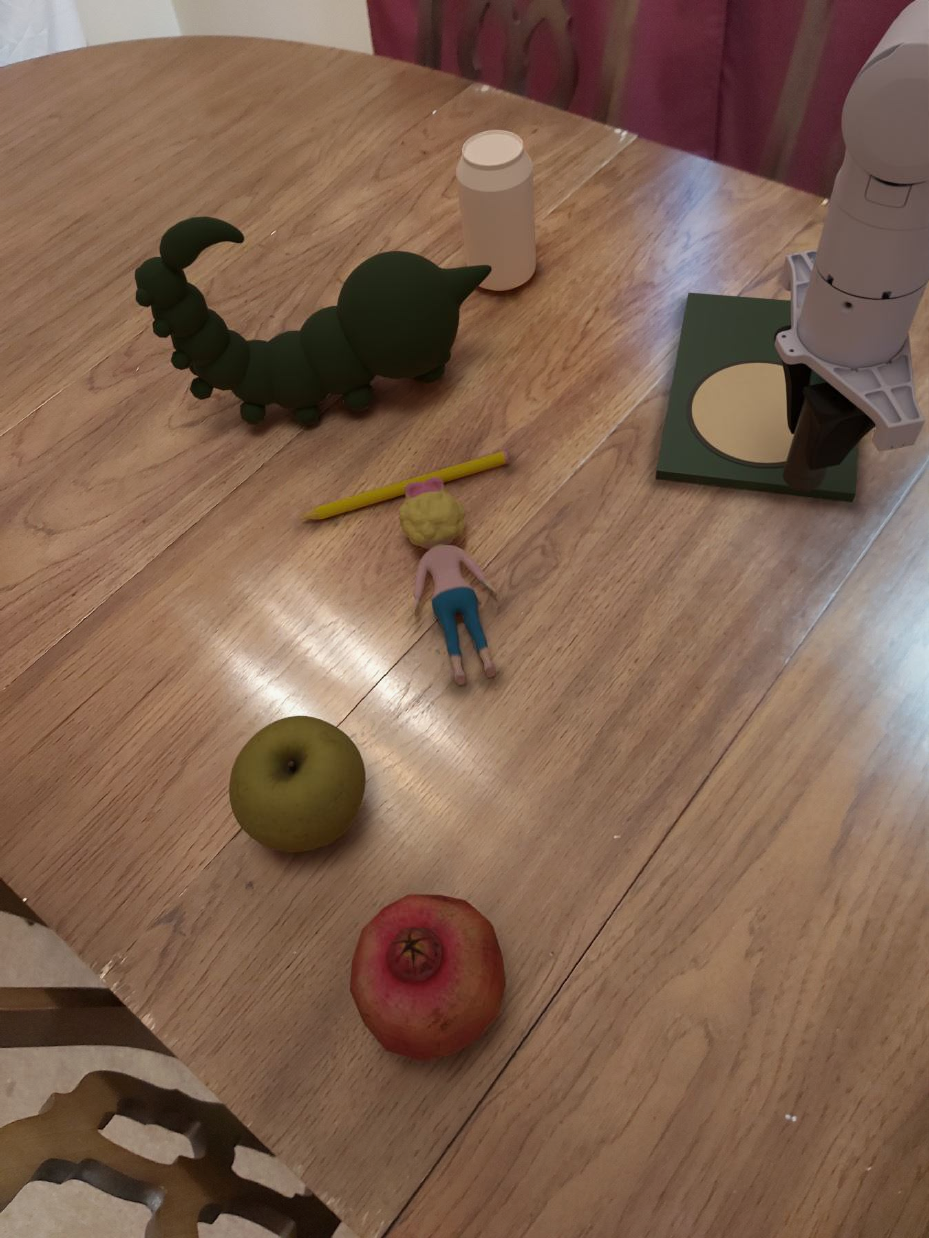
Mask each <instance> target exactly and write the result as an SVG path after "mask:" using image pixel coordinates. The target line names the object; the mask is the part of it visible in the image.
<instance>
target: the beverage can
mask: <svg viewBox="0 0 929 1238" xmlns="http://www.w3.org/2000/svg"><path fill="white" fill-rule="evenodd" d="M524 145H525V144H524V141H523V139H522V138H521V137H520V136H519V135H518V134H516V133H515V132H511V131H510V130H509V131H508V130H504V129H490V130H485V131H482V132H478V133H476V134H473V135H472V136H471V137H469V138H468V139H467V140H466V141H464V144H463V145H462V148H461V153H462V154H461V157H460V159H459V160H458V163H457V165H456V170H455V176H456V184H457V185H456V186H457V194H458V203H459V213H460V221H461V231H462V239H463V248H464V256H465V267H467V266H476V265H489V266H491V268H492V271H491V273H490V274H489V275H488V276H487V277H486V279H485V280H484V281H483V282H482V283H481V284H480V285H479V286H478V287H480V288H482V289H484V290H485V289H486V290H489V291H495V292H504V291H505V292H506V291H510V290H512V289H513V290H514V289H515V288H518V287H520V286H522V285H523V284H526V283H527V282H528V281H529V280H530V279H531V278H532V277H533V275H534V273H535V271H536V268H537V267H536V266H537V246H536V245H537V244H536V222H535V221H536V218H535V217H536V216H535V192H534V191H535V190H534V189H535V187H534V164H533V161H532V159H531V157H530V155H529V154H528V152H527V150H526V149H525V147H524Z"/></svg>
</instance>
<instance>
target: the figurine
mask: <svg viewBox="0 0 929 1238" xmlns="http://www.w3.org/2000/svg"><path fill="white" fill-rule="evenodd" d="M444 483H445V482H444ZM444 483H443V481H442V479H441V478H440V477H434V478H430V479H428V480H426V481H425V482H421V483H420V482H414V483H409V484H407V485H406V486H405V494H404V496H405V500H404V502H403V504H401V506H400V508H399V510H398V520H399V525H400V527H401V529H402V532H403V534H405V535H406V537H407V538H408V541H409V542H410V543H411V544H413V545H414V546H419V547H420V546H421V547H422V548H423V549H426V550H427V551H426V552H425V553H424V554H423V556H422V558H420V560H419V562H418V567H417V569H416V572H415V573H416V574H415V578H414V589H413V598H414V602H413V605H412V615H413V617H416V616H417V612H418V610H419V606H420V602H421V600H422V597H423V593H424V588H425V585H426V577H427V573H428V572H429V573H430V575H431V577H432V581H433V586H434V587H433V592H432V596H431V606H432V611H433V614H434V616H435V617H436V620H437V621H438V622H439V624H440V626H441V628H442V631H443V635H444V641H445V644H446V649H447V653H448V655H449V658H450V661H451V663H452V667H453V671H454V680H455V683H456V685H458V686H462V685H464V684H465V683H466V674H465V672H464V670H463V667H462V659H463V656H462V651H461V647H460V638H459V631H458V626H457V622H456V614H459V613H460V614H461V616H462V618H463V619H462V620H463V622H464V626H465V628H466V630H467V632H468V634H469V635H470V637H471V639H472V640H473V642H474V646H475V650H476V653H477V654H478V656H479V657H480V658H481V660H482V662H483V671H484V673H485V675H486V677H487V678H489V679H490V678H492V677H493V678H494V676H495V674H496V668H495V666H494V664H493V662H492V659H491V655H490V650H489V645H488V642H487V636H486V635H485V631H484V629H483V626H482V623H481V620H480V615H479V614H480V613H479V600H478V596H477V594H476V591H475V588H474V587H472V586H471V585H470V584H469V583H468V582H467V581H466V580H465V579H464V577H463V574H462V570H461V564H463V565H464V566H465V567H466V568H467V569H468V570H469V571H470V573H471V574H472V575H473V576H474V577H475V579H477V580H478V581H479V582H480V584H482V585H483V586H485V587H486V589H487V590H488V591H489V592H490V593H491V594H492V595H493V596H494V597H497V596H498V593H497V590H496V588H495V587H494V585H493V584H491V583H490V582H489V581H488V578H487V576H486V574H485V573H484V572H483V570H482V569H481V567H480V566H479V564H478V563H477V562H476V561H475V560H474V559H473V558H472V557H471V556H470V555H469V554H468V553H467V552H466V550H464V549H462V548H460V547H459V546H457V545H454V544H451V543H452V542H453V541H454V539H456V538H457V537H459V536H461V535H462V534H463V533H464V531H465V530H466V523H465V521H464V519H465V517H466V509H465V506H464V505H463V503H462V502H461V501H459V500H457V499H455V498H454V496H453V495H452V494H451V493H450V492H449V491H448V490H446V489H445V484H444Z"/></svg>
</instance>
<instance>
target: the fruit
mask: <svg viewBox="0 0 929 1238" xmlns="http://www.w3.org/2000/svg"><path fill="white" fill-rule="evenodd" d="M350 968H351V969H350V980H349V981H350V982H349V992H350V994H351V997H352V999H353V1001H354V1004H355V1006H356V1009H357V1011H358V1014H359V1016H360V1019H361V1021H362V1023H363V1025H364V1026H365V1027H366V1028H367V1030H368V1031H369V1032H370V1033H371V1035H372V1036H373V1037H374V1038H375V1039H376V1040H377V1042H378V1043H379V1045H381V1047H382V1048H383V1049H384V1050H385V1051H386V1052H388V1053H391V1054H396V1055H399V1056H403V1057H406V1058H409V1059H413V1060H417V1061H419V1062H423V1061H429V1060H433V1059H438V1058H442V1057H445V1056H451V1055H454V1054H456V1053H457V1052H458V1051H460V1050H462V1049H464V1048H465V1047H467V1046H469V1045H470V1044H472V1043H474V1042H475V1041H477V1040H479V1038H480V1037H481V1036H482V1035H483V1033H484V1032H485V1031H486V1030H487V1029H488V1028H489V1026H490V1025H492V1023H493V1022H494V1021H495V1019H496V1018H497V1017H498V1016H499V1014H500V1011H501V1006H502V1003H503V998H504V994H505V990H506V985H507V982H506V974H505V965H504V957H503V954H502V951H501V947H500V944H499V941H498V937H497V934H496V930H495V928H494V925H493V923H492V922H491V921H490V920H489V919H488V918H487V917H485V916H484V915H483V914H482V913H481V912H480V911H479V910H478V909H477V908H475V907H474V906H473V905H472V904H471V903H470V902H469V901H467V900H466V899H463V898H458V897H452V896H447V895H444V894H406V895H404V896H402V897H400V898H399V899H396V900H395V901H393V902H391V903H389V904H387V905H386V906H384V907H383V908H381V910H380V911H378V913H376V914H375V915H374V917H372V918H371V919H370V920H369V922H367V923H366V924H365V926H363V927H362V928H361V931H360V934H359V937H358V940H357V944H356V947H355V949H354V953H353V956H352V958H351V967H350Z"/></svg>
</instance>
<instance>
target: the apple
mask: <svg viewBox="0 0 929 1238" xmlns="http://www.w3.org/2000/svg"><path fill="white" fill-rule="evenodd" d="M366 783H367V777H366V768H365V763H364V760H363V757H362V754H361V752H360V750H359V748H358V747H357V745H356V744H355V742H354V741H353V740H352V738H351V737H349V735H347V733H346V732H345V731H343V730H342V729H340V728H338V727H337V726H335V724H332V723H330V722H328V721H325V720H323V719H321V718H318V717H314V716H309V715H291V716H286V717H284V718H280V719H277V720H275V721H273V722H270V723H269V724H267V725H265V726H264V727H262V728H261V729H259V731H256V733H255V734H254V735H253V736H251V738H250V739H249V740H248V741H247V742H246V743H245V744H244V746H242V748H241V750H240V751H239V753H238V754H237V757H236V758H235V760H234V763H233V765H232V768H231V772H230V777H229V786H228V797H229V803H230V807H231V812H232V814H233V816H234V819H235V820H236V822H237V823H238V825H239V826H240V828H241V829H242V830H243V831H244V832H245V833H246V834H247V835H248V836H249V837H250V839H252V840H254V841H256V843H258V844H261V845H263V846H264V847H267V848H269V849H273V850H278V851H281V852H289V853H293V852H294V853H295V852H305V851H306V852H307V851H312V850H316V849H320V848H324V847H325V846H327V845H328V846H329V844H332V843H334V842H335V841H336V840H338V839H339V838H341V837H342V836H343V835H344V834H345V833H346V832H347V831H348V830H349V828H350V827H351V825H352V824H353V823H354V822H355V820H356V818H357V816H358V813H359V811H360V810H361V806H362V803H363V800H364V797H365V791H366Z"/></svg>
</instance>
